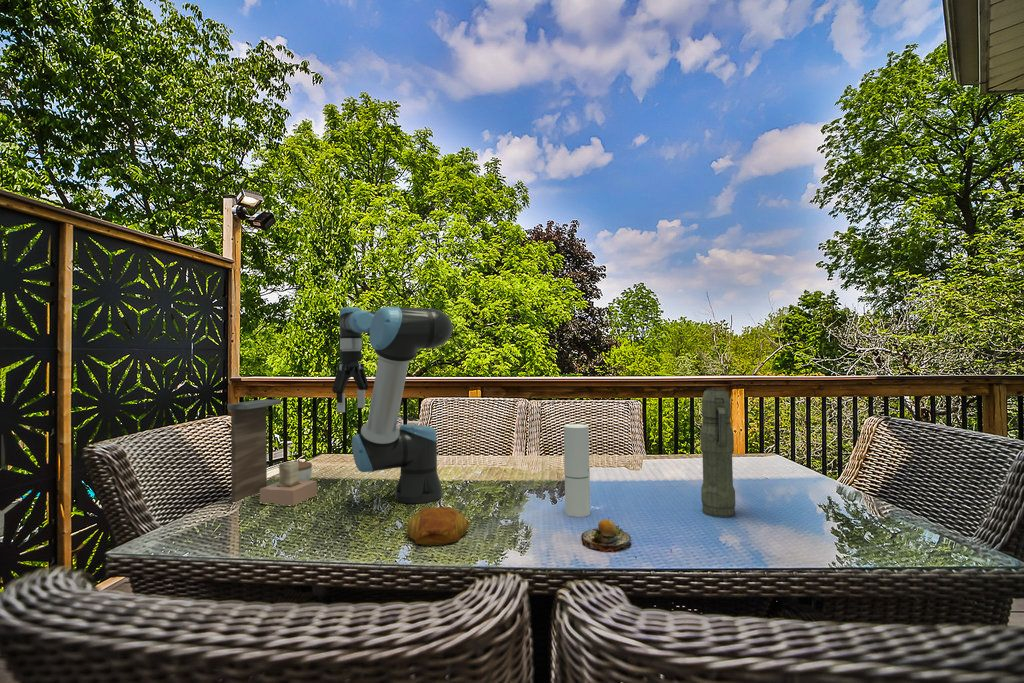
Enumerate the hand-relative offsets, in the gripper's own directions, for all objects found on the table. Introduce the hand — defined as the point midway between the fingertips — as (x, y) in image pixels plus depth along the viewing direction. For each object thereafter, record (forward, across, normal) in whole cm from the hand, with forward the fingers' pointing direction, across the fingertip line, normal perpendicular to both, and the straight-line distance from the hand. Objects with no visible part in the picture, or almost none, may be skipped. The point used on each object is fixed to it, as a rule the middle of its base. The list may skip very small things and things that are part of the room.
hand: (351, 409), depth 181 cm
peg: (+27, +21, -10) cm, 35 cm away
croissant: (+27, +42, +49) cm, 70 cm away
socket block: (+27, +21, -10) cm, 35 cm away
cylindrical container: (+27, +17, +82) cm, 88 cm away
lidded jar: (+27, +6, -19) cm, 33 cm away
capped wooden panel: (+27, +21, -22) cm, 40 cm away
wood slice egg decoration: (+27, +38, +91) cm, 102 cm away
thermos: (+27, +9, +121) cm, 125 cm away
